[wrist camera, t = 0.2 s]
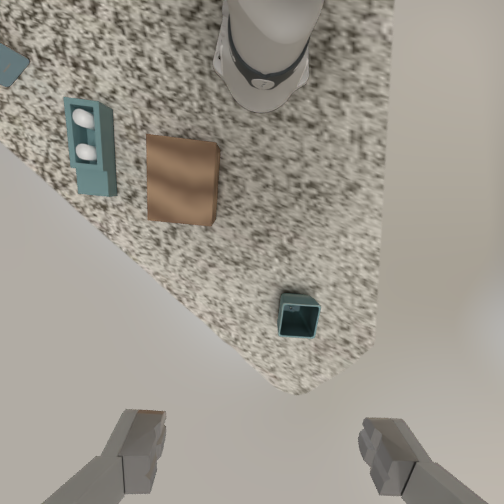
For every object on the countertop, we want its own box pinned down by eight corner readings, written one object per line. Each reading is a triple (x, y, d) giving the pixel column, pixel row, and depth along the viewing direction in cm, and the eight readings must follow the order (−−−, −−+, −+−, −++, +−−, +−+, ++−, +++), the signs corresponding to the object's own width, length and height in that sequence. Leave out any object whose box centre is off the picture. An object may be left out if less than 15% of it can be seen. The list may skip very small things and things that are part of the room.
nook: (163, 142, 50) (146, 133, 41) (220, 149, 51) (216, 142, 41) (163, 213, 54) (147, 220, 45) (215, 219, 55) (211, 226, 46)
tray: (81, 105, 47) (61, 95, 42) (112, 109, 47) (96, 100, 42) (88, 192, 52) (71, 194, 46) (117, 195, 52) (103, 197, 47)
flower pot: (272, 316, 63) (277, 337, 54) (276, 285, 60) (282, 303, 52) (304, 317, 64) (314, 339, 55) (310, 288, 61) (321, 305, 52)
